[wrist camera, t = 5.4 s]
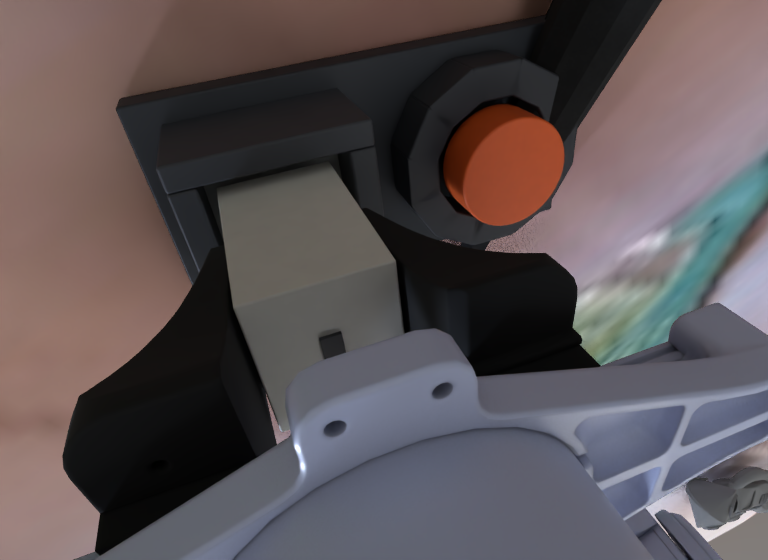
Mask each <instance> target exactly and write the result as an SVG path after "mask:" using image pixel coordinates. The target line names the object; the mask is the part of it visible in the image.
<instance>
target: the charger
mask: <svg viewBox="0 0 768 560" xmlns="http://www.w3.org/2000/svg"><path fill="white" fill-rule="evenodd" d="M217 196H218V203H219V210H220V217H221V225H222V232H223V239H224V246H225V253H226V260H227V268H228V275H229V282H230V289H231V296H232V303H233V309H234V312H235V314H236V317H237V319H238V322H239V324H240V327H241V330H242V332H243V335H244V337H245V340H246V343H247V345H248V348H249V350H250V353H251V355H252V358H253V361H254V363H255V366H256V368H257V371H258V374H259V376H260V379H261V381H262V384H263V387H264V389H265V392H266V394H267V397H268V399H269V402H270V405H271V407H272V410H273V412H274V415H275V418H276V420H277V423H278V425H279V428H280V430H281V431H282V432H284V431H287V430H290V426H289V422H288V417H287V413H286V408H285V395H286V388H287V387H288V386H289V384H290V383H291V382H292V381H293V379H294V378H295V377H296V375H297V374H298V373H299V372H300V371H302V370H304V369H306V368H308V367H310V366H312V365H313V364H315V363H317V362H319V361H321V360H324V359H327V358H331V357H334V356H337V355H340V354H343V353H346V352H349V351H352V350H355V349H359V348H362V347H365V346H368V345H371V344H374V343H377V342H380V341H383V340H386V339H390V338H393V337H396V336H399V335H402V334H405V333H404V325H403V316H402V308H401V299H400V291H399V283H398V274H397V266H396V260H395V259H394V257H393V256H392V254H391V253H390V251H389V250H388V248H387V247H386V245H385V244H384V242H383V241H382V240H381V238H380V237H379V235H378V234H377V232H376V231H375V229H374V228H373V226H372V225H371V223H370V222H369V220H368V219H367V217H366V216H365V214H364V213H363V211H362V210H361V208H360V207H359V205H358V204H357V202H356V201H355V199H354V198H353V197H352V195H351V194H350V192H349V191H348V189H347V188H346V186H345V185H344V183H343V182H342V180H341V179H340V177H339V176H338V174H337V173H336V171H335V170H334V168H333V167H332V165H331V164H330V162H329V161H327V162H323V163H319V164H314V165H310V166H306V167H302V168H298V169H293V170H289V171H285V172H281V173H277V174H273V175H268V176H264V177H260V178H256V179H252V180H248V181H243V182H239V183H235V184H231V185H227V186H223V187H218V188H217Z"/></svg>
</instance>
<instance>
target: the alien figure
mask: <svg viewBox="0 0 768 560" xmlns="http://www.w3.org/2000/svg"><path fill="white" fill-rule="evenodd" d="M707 479H708V478H693V479H692V480H690V481H689V482H688V483H687V485H686V492H687V494H688V496H689V500H690V503H691V507H692V511H693V514H694V518H695V522H696V525H697V527H698V528H700V527H702V528H703V529H708V530H715V529H719V527H721V526H722V525H724V524H726V523H727V522H732V521H736V520H738V519H739V518H740V515H742V514H743V513H746V511H749V510H753V511H755V512H758V513H767V512H768V471H767V470H763V469H760V468H757V467H748V468H745V469H743V470H742V471H740V472H739V473H737V474H736V475H735V476H733V477H732V478H731V479H728V478H720V479H715V480H713V482H709V481H706V480H707Z"/></svg>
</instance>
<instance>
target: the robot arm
mask: <svg viewBox="0 0 768 560" xmlns="http://www.w3.org/2000/svg"><path fill="white" fill-rule="evenodd" d="M361 210H362V211H363V213H364V214H365V216H366V217H367V219H368V220H369V222H370V223H371V225H372V226H373V228H374V229H375V231H376V232H377V234H378V235H379V237H380V238H381V240H382V241H383V242H384V244H385V245H386V247H387V248H388V250H389V251H390V253H391V254H392V256H393V257H394V259H395V260H396V266H397V274H398V283H399V291H400V299H401V308H402V316H403V325H404V333H405V334H402V335H399V336H396V337H393V338H390V339H386V340H383V341H380V342H377V343H374V344H371V345H368V346H365V347H362V348H359V349H355V350H352V351H349V352H346V353H343V354H340V355H337V356H334V357H331V358H327V359H324V360H321V361H319V362H317V363H315V364H313V365H312V366H310V367H308V368H306V369H304V370H302V371H300V372H299V373H298V374H297V375H296V377H295V378H294V379H293V381H292V382H291V383H290V384H289V386H288V387H287V388H286V395H285V408H286V413H287V417H288V422H289V426H290V431H291V435H290V436H289V438H287V439H285V440H284V441H282V442H281V443H279V444H276V439H275V435H274V430H273V426H272V421H271V417H270V412H269V408H268V403H267V398H266V392H265V389H264V387H263V384H262V381H261V379H260V376H259V374H258V371H257V368H256V366H255V363H254V361H253V358H252V355H251V353H250V350H249V348H248V345H247V343H246V340H245V337H244V335H243V332H242V330H241V327H240V324H239V322H238V319H237V317H236V314H235V312H234V309H233V303H232V296H231V289H230V282H229V275H228V268H227V260H226V253H225V246H224V245H223V246H219V247H215V248H211V249H210V251H209V252H208V254H207V257H206V259H205V261H204V264H203V266H202V268H201V270H200V272H199V274H198V276H197V278H196V280H195V282H194V284H193V286H192V288H191V289H190V291H189V293H188V295H187V296H186V298H185V299H184V301H183V303H182V304H181V306H180V307H179V309H178V310H177V312H176V313H175V314H174V316H173V317H172V318H171V319H170V320H169V322H168V323H167V324H166V325H165V327H164V328H163V329H162V330H161V331H160V332H159V333H158V334H157V335H156V336H155V337H154V338H153V339H152V340H151V341H150V342H149V343H148V344H147V345H146V346H145V347H144V348H143V349H142V350H141V351H140V352H139V353H138V354H136V355H135V356H134V357H133V358H132V359H131V360H130V361H128V362H127V363H126V364H124V365H123V366H122V367H121V368H119V369H118V370H117V371H116V372H114V373H113V374H111V375H110V376H109V377H107V378H106V379H104V380H103V381H101V382H100V383H98V384H97V385H95V386H94V387H92V388H91V389H89V390H88V391H86V392H85V393H83V394H82V395H80V396H79V398H78V401H77V404H76V406H75V409H74V412H73V415H72V418H71V422H70V426H69V430H68V434H67V439H66V443H65V447H64V452H63V468H64V470H65V472H66V473H67V475H68V477H69V478H70V480H71V481H72V482H73V483H74V484H75V486H76V487H77V488H78V489H79V490H80V491H81V492H82V493H83V495H84V496H85V497H86V498H87V499H88V500H89V501H90V502H91V504H92V505H93V506H94V507H95V508H96V509H97V510H98V511H99V513H100V519H99V526H98V533H97V540H96V547H95V552H93V553H90V554H87V555H85V556H82V557H79V558H77V559H74V560H723V559H722V558H721V557H720V556H719V555H718V554H717V553H716V551H715V550H714V549H713V548H712V547H711V546H710V545H709V544H708V542H707V541H706V540H705V539H704V538H703V537H702V536H701V535H700V534H699V533H698V531H697V530H696V529H695V528H694V527H693V526H692V525H691V524H690V523H689V522H688V521H687V520H686V519H685V518H684V517H683V516H681V515H679V514H675V513H669V512H667V511H666V510H661V511H659V512H658V513H656V514H655V516H656V518H657V519H658V521H659V522H660V523H661V525H662V526H663V527H664V529H665V530H666V531H667V533H668V535H669V536H670V537H671V538H670V537H669V536H668V535H667V534H666V532H665V531H664V530H663V529H662V528H661V527H660V525H659V524H658V523H657V522H656V520H655V519H654V518H653V517H652V516H651V514H650V513H649V512H648V511H647V510H646V507H647V506H649V505H651V504H652V503H654V502H656V501H657V500H659V499H660V498H662V497H664V496H665V495H667V494H669V493H670V492H672V491H673V490H675V489H677V488H678V487H680V486H682V485H683V484H685V483H686V482H688V481H690V480H692V479H693V478H695V477H697V476H698V475H700V474H702V473H704V472H705V471H707V470H709V469H710V468H712V467H714V466H716V465H718V464H719V463H721V462H723V461H725V460H727V459H729V458H731V457H733V456H735V455H736V454H738V453H740V452H742V451H745V450H747V449H749V448H751V447H753V446H755V445H757V444H759V443H762V442H764V441H766V440H768V335H766V334H765V333H764V332H762V331H761V330H759V329H758V328H756V327H755V326H753V325H752V324H750V323H749V322H747V321H746V320H744V319H743V318H741V317H740V316H738V315H737V314H735V313H734V312H732V311H731V310H729V309H728V308H726V307H725V306H723V305H722V304H720V303H714V304H711V305H708V306H705V307H703V308H700V309H697V310H694V311H691V312H689V313H686V314H684V315H682V316H680V317H679V318H678V319H677V320H676V321H675V322H674V323H673V325H672V327H671V329H670V333H669V339H668V342H665V343H662V344H660V345H657V346H654V347H651V348H649V349H646V350H643V351H641V352H638V353H635V354H632V355H630V356H627V357H624V358H621V359H619V360H616V361H613V362H611V363H608V364H605V365H602V366H600V365H599V364H598V363H597V362H596V361H595V360H594V359H593V358H592V357H591V356H590V355H589V354H588V353H587V352H586V351H585V350H584V349H583V348H582V347H581V346H580V345H579V344H581V343H582V338H581V336H580V335H579V334H578V333H577V332H576V331H575V330H574V329H573V328H572V327H573V321H574V315H575V308H576V302H577V285H576V282H575V279H574V277H573V276H572V275H571V274H570V273H569V272H568V271H567V270H566V269H565V268H563V267H562V266H561V265H560V264H559V263H558V262H556V261H555V260H554V259H553V258H551V257H550V256H549V255H548V254H546V253H505V252H493V251H484V250H478V249H472V248H467V247H462V246H457V245H453V244H450V243H446V242H443V241H439V240H436V239H433V238H430V237H427V236H425V235H422V234H420V233H417V232H415V231H412V230H410V229H408V228H406V227H403V226H401V225H399V224H397V223H395V222H393V221H391V220H389V219H387V218H385V217H384V216H382V215H380V214H378V213H376V212H374V211H372V210H370V209H368V208H363V209H361ZM671 539H672V540H673V541H674V542H673V541H672V540H671Z"/></svg>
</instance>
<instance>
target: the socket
mask: <svg viewBox="0 0 768 560" xmlns="http://www.w3.org/2000/svg"><path fill="white" fill-rule="evenodd" d="M374 143H375V141H374V133H373V125H372V120H371V119H370V118H369V117H368V116H367V115H366V114H365V113H364V112H363V111H362V110H361V109H360V108H358V107H357V106H356V105H355V104H354V103H353V102H352V101H351V100H350V99H349V98H348V97H347V96H346V95H344V94H343V93H342V92H341V91H340V90H339V89H338V88H334V89H329V90H324V91H319V92H315V93H310V94H305V95H300V96H296V97H291V98H286V99H281V100H277V101H272V102H267V103H262V104H257V105H253V106H248V107H243V108H238V109H234V110H229V111H224V112H219V113H215V114H210V115H205V116H200V117H195V118H191V119H186V120H181V121H176V122H172V123H167V124H163V125H161V130H160V139H159V147H158V156H157V165H156V171H157V174H158V176H159V178H160V181H161V183H162V186H163V188H164V190H165V192H166V193H167V194H168V197H167V198H168V200H169V203H170V205H171V207H172V210H173V212H174V214H175V217H176V219H177V222H178V224H179V226H180V229H181V231H182V234H183V236H184V238H185V241H186V243H187V246H188V248H189V250H190V253H191V255H192V258H193V260H194V262H195V265H196V267H197V270H198V272H200V270H201V268H202V266H203V264H204V261H205V259H206V257H207V254H208V252H209V251H210V249H211V248H215V247H219V246H223V245H224V239H223V232H222V225H221V217H220V210H219V203H218V196H217V188H218V187H223V186H227V185H231V184H235V183H239V182H243V181H248V180H252V179H256V178H260V177H264V176H268V175H273V174H277V173H281V172H285V171H289V170H293V169H298V168H302V167H306V166H310V165H314V164H319V163H323V162H327V161H329V162H330V164H331V165H332V167H333V168H334V170H335V171H336V173H337V174H338V176H339V177H340V179H341V180H342V182H343V183H344V185H345V186H346V188H347V189H348V191H349V192H350V194H351V195H352V197H353V198H354V199H355V201H356V202H357V204H358V205H359V207H360V208H361V209H363V208H368V209H370V210H372V211H374V212H376V213H378V214H380V215H382V216H384V211H383V203H382V195H381V187H380V180H379V172H378V164H377V156H376V148H375V147H374Z"/></svg>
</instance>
